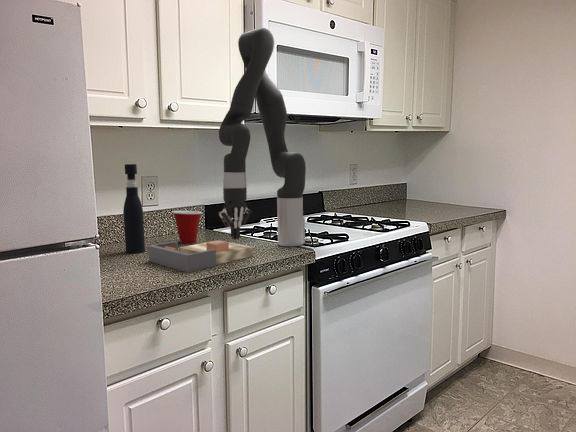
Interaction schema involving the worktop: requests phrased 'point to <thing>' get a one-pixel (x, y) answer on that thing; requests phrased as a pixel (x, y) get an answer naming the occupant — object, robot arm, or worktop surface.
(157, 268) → the worktop surface
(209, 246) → the terracotta tile
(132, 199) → the wine bottle
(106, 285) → the worktop surface
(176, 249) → the terracotta tile
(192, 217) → the plastic cup
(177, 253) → the box
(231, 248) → the birch board
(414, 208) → the worktop surface
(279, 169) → the robot arm
